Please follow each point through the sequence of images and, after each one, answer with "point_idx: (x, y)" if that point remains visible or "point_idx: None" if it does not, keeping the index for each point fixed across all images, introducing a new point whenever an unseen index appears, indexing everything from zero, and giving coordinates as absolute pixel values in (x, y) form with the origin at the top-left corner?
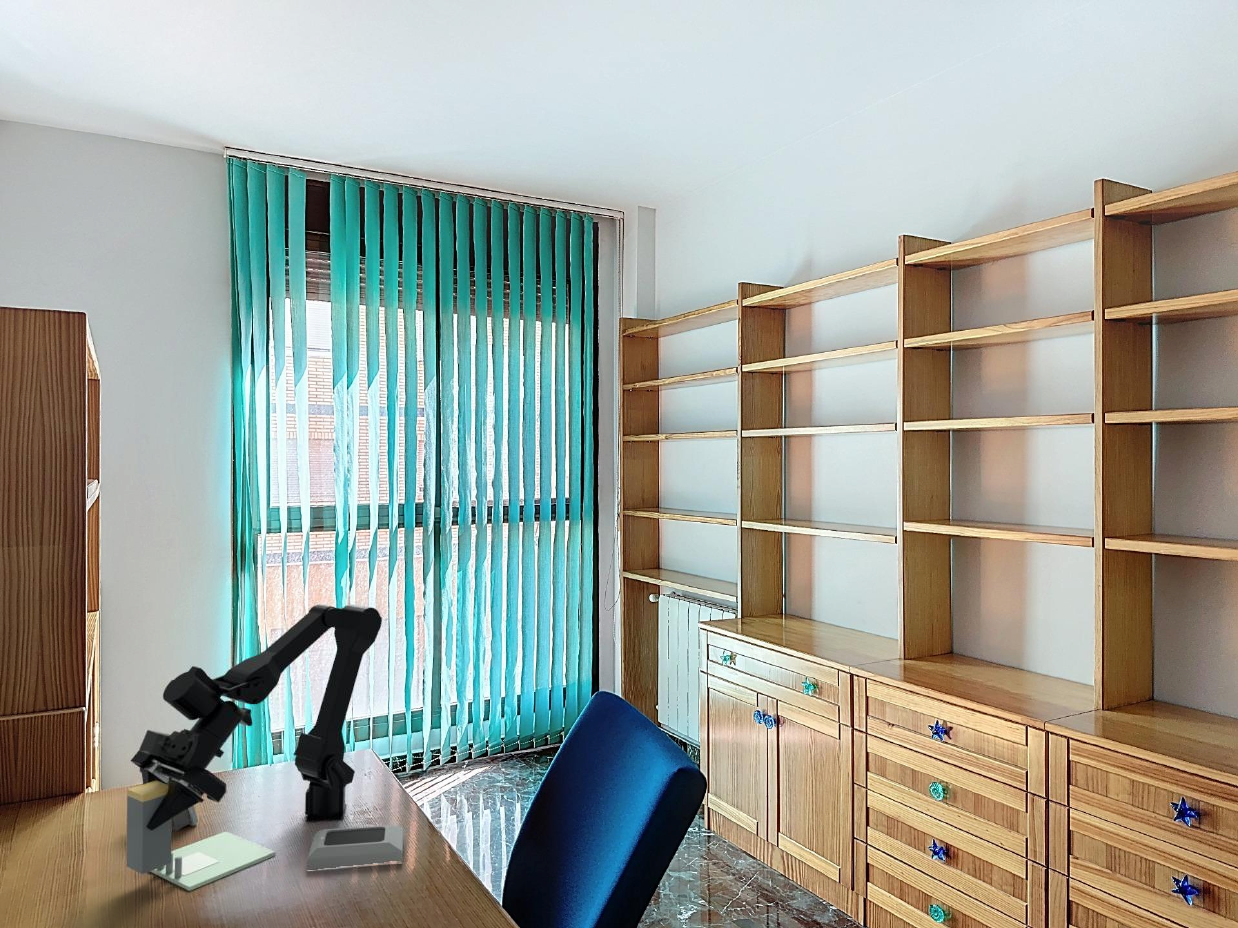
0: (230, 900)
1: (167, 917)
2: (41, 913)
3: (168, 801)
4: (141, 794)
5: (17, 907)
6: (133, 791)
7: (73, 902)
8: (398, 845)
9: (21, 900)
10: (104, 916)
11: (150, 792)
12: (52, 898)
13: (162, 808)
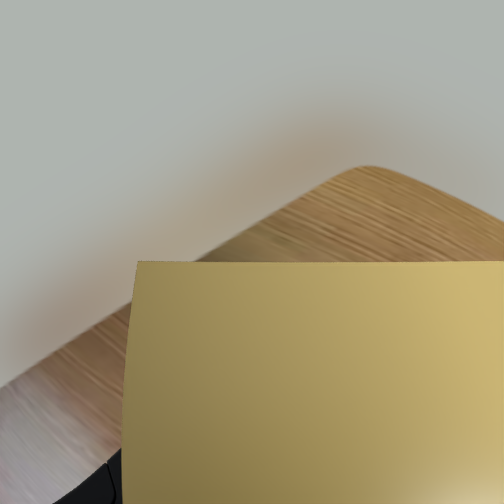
0: (46, 447)
1: (87, 334)
2: (342, 193)
3: (66, 501)
4: (202, 272)
5: (401, 182)
6: (454, 269)
7: (344, 251)
8: None
9: (427, 198)
10: (212, 259)
11: (162, 425)
12: (397, 234)
13: (113, 456)
